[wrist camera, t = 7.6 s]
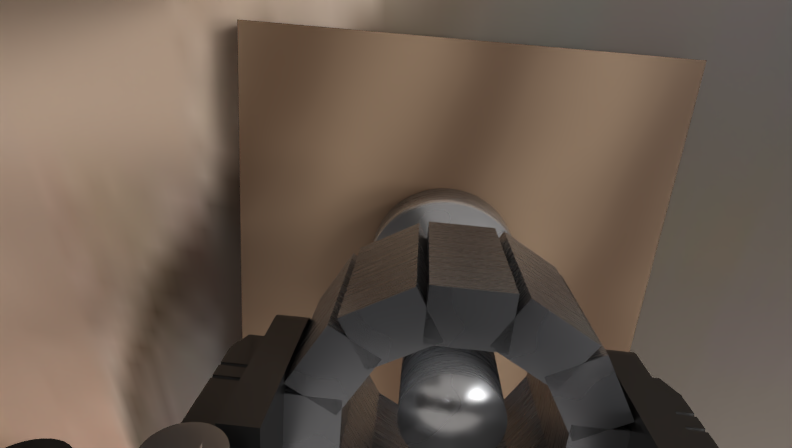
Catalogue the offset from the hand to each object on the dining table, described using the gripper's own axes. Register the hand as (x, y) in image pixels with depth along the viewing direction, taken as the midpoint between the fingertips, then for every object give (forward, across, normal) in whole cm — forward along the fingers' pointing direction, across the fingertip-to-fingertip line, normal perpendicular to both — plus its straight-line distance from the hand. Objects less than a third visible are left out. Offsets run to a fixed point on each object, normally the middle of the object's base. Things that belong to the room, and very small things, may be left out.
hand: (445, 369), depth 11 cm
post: (+7, 0, 0) cm, 7 cm away
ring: (+1, 0, 0) cm, 1 cm away
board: (+8, 0, 0) cm, 8 cm away
